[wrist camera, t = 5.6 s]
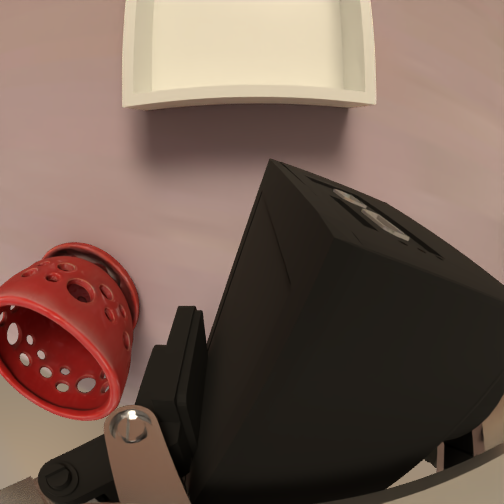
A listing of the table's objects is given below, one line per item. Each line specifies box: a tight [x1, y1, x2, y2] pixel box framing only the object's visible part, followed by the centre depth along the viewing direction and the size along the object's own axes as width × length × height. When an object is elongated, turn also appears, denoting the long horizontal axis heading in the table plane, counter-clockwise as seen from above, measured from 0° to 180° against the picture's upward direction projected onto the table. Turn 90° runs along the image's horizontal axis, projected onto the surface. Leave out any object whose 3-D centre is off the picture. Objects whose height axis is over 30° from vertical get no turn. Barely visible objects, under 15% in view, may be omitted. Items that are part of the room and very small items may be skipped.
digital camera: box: [182, 159, 504, 504], centre depth 8 cm, size 10×5×7 cm, turn 162°
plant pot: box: [0, 242, 139, 421], centre depth 23 cm, size 13×13×12 cm
